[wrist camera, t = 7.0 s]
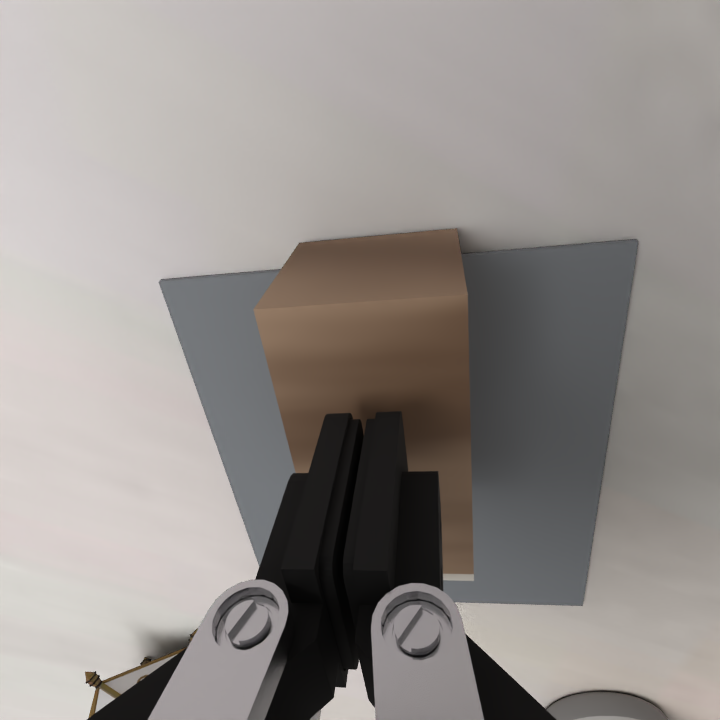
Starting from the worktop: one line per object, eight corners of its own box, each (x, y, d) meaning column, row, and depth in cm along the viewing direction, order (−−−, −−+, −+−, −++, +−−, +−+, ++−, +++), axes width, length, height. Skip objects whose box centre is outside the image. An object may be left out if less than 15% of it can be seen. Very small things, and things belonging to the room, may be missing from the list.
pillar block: (253, 309, 11) (322, 577, 15) (467, 294, 10) (474, 581, 15) (299, 242, 15) (343, 473, 19) (456, 228, 14) (464, 471, 18)
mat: (161, 279, 16) (159, 281, 16) (635, 239, 14) (638, 241, 13) (271, 593, 24) (270, 596, 24) (581, 601, 22) (582, 605, 21)
